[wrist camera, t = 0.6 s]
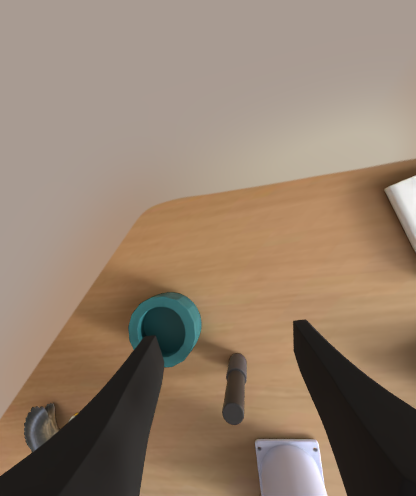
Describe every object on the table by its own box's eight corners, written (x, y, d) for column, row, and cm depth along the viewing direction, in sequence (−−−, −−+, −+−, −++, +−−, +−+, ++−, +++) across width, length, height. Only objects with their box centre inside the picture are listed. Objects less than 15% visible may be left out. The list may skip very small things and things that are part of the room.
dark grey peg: (247, 370, 32) (247, 427, 21) (230, 371, 32) (221, 427, 21) (245, 352, 32) (244, 400, 21) (228, 353, 32) (218, 400, 22)
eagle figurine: (101, 416, 34) (45, 388, 34) (64, 481, 28) (-4, 449, 28) (96, 430, 38) (46, 406, 38) (62, 489, 32) (4, 461, 32)
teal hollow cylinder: (204, 352, 33) (198, 366, 29) (145, 356, 34) (131, 369, 30) (197, 289, 34) (190, 293, 29) (139, 295, 35) (125, 299, 31)
